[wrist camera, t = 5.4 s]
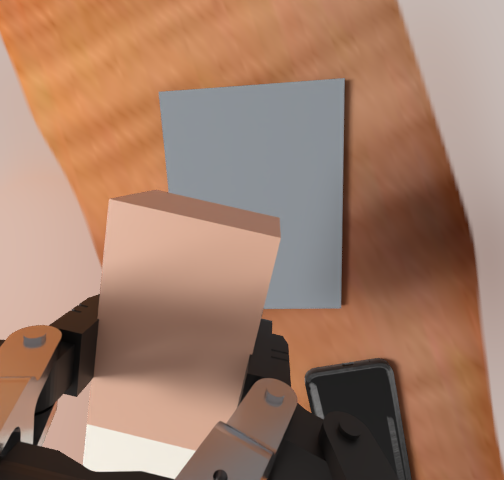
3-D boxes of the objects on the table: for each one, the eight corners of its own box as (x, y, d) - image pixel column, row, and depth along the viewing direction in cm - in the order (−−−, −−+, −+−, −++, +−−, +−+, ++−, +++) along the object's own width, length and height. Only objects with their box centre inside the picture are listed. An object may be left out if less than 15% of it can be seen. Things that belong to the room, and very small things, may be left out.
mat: (339, 305, 27) (341, 308, 26) (182, 306, 28) (180, 309, 27) (342, 80, 23) (344, 78, 22) (161, 93, 24) (158, 92, 24)
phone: (333, 507, 30) (302, 375, 28) (331, 495, 32) (302, 367, 29) (416, 499, 29) (393, 361, 27) (411, 487, 30) (388, 353, 28)
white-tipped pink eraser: (156, 189, 12) (109, 198, 9) (279, 217, 12) (280, 238, 9) (127, 397, 15) (82, 467, 11) (230, 422, 14) (215, 501, 11)
